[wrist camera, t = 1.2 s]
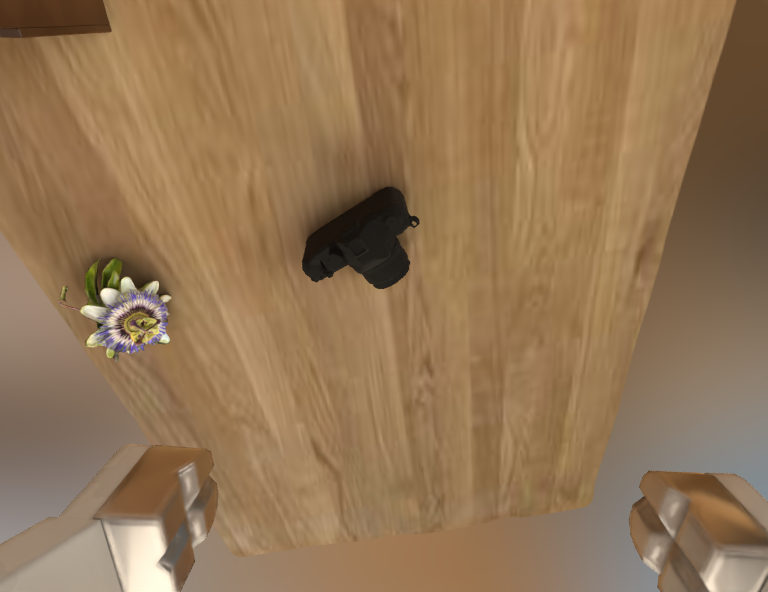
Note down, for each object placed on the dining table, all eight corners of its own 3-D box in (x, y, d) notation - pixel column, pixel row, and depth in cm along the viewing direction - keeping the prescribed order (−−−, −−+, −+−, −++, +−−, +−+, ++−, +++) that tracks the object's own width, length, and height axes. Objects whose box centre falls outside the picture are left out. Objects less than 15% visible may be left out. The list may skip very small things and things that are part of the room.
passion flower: (178, 275, 62) (190, 349, 57) (105, 297, 61) (111, 374, 56) (132, 238, 51) (143, 325, 47) (43, 264, 50) (46, 355, 46)
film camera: (340, 289, 58) (338, 328, 51) (297, 237, 53) (287, 272, 46) (434, 236, 54) (447, 270, 47) (397, 174, 49) (405, 202, 42)
